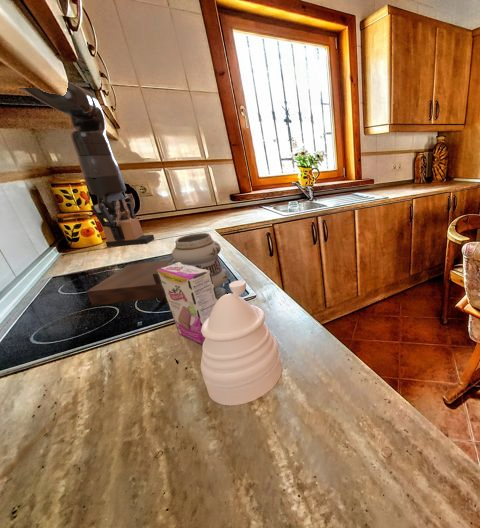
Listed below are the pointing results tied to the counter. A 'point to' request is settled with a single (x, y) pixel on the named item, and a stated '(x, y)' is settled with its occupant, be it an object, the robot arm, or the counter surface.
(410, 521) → the counter surface
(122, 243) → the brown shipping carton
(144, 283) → the shelf
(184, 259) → the apothecary jar
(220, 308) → the honey pot
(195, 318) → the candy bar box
